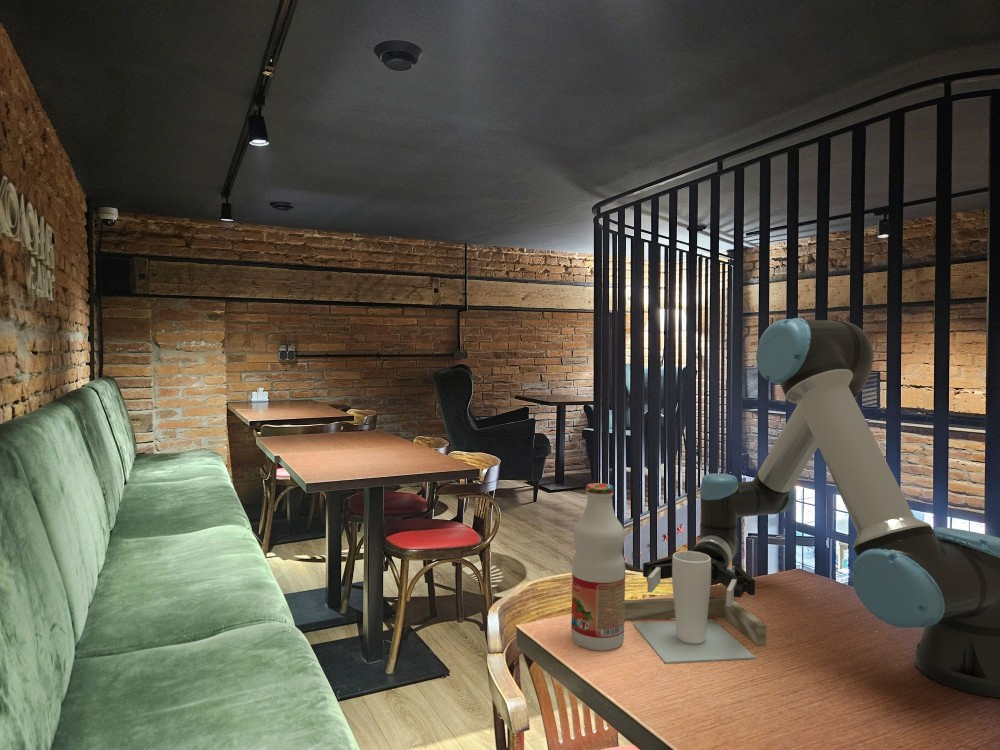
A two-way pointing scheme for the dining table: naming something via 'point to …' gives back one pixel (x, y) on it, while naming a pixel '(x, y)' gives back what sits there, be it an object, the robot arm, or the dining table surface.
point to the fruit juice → (598, 574)
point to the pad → (677, 651)
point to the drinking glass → (691, 595)
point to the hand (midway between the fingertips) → (688, 591)
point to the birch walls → (717, 608)
